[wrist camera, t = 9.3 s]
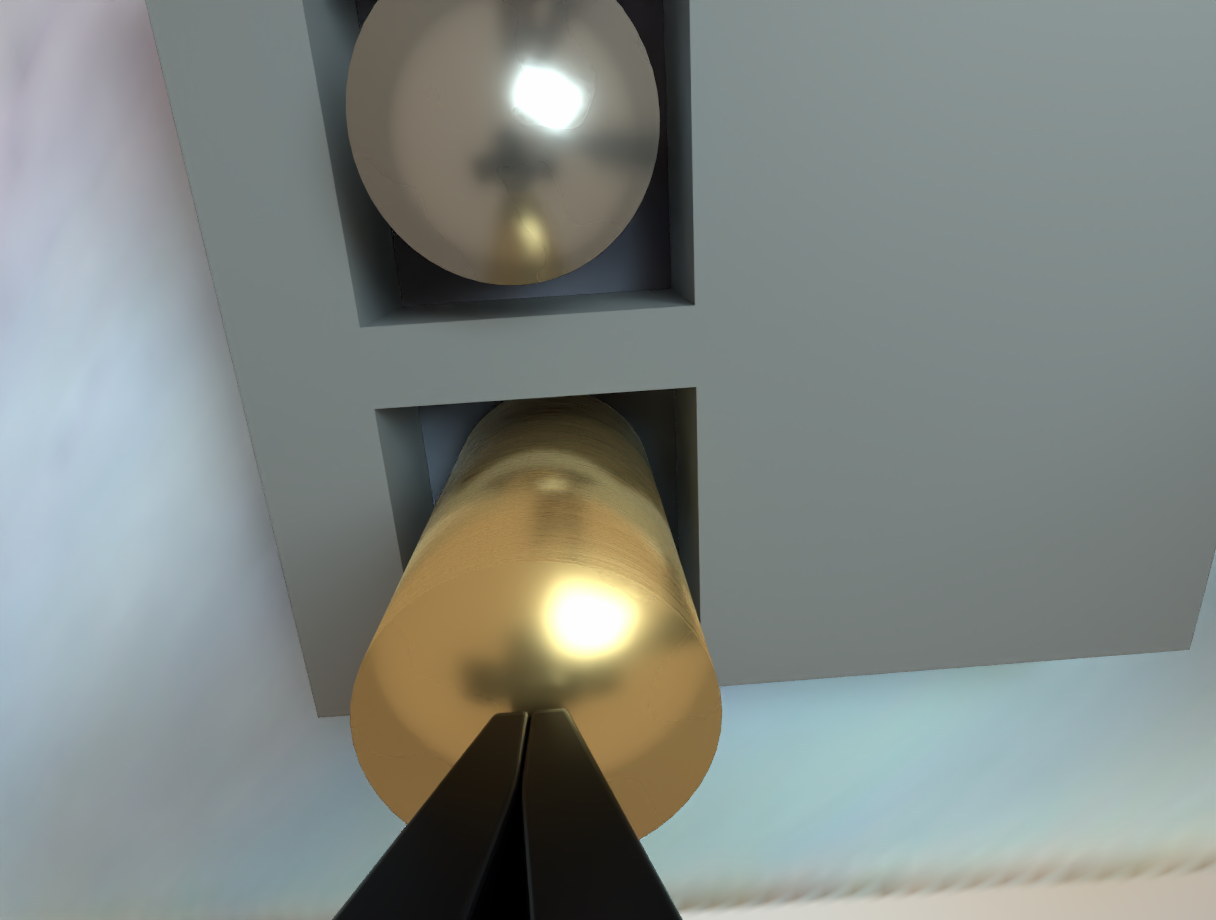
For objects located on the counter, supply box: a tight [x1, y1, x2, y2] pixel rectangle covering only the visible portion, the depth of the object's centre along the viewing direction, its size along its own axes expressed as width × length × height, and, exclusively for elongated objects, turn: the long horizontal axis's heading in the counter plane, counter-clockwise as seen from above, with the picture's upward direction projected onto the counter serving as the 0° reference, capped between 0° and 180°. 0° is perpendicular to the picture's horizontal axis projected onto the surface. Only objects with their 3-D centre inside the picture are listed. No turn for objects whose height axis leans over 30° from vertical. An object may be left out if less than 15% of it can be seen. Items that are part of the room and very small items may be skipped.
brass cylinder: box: [350, 395, 722, 840], centre depth 12 cm, size 4×4×8 cm
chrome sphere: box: [346, 0, 660, 285], centre depth 12 cm, size 4×4×4 cm
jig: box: [145, 0, 1216, 718], centre depth 13 cm, size 18×14×3 cm
